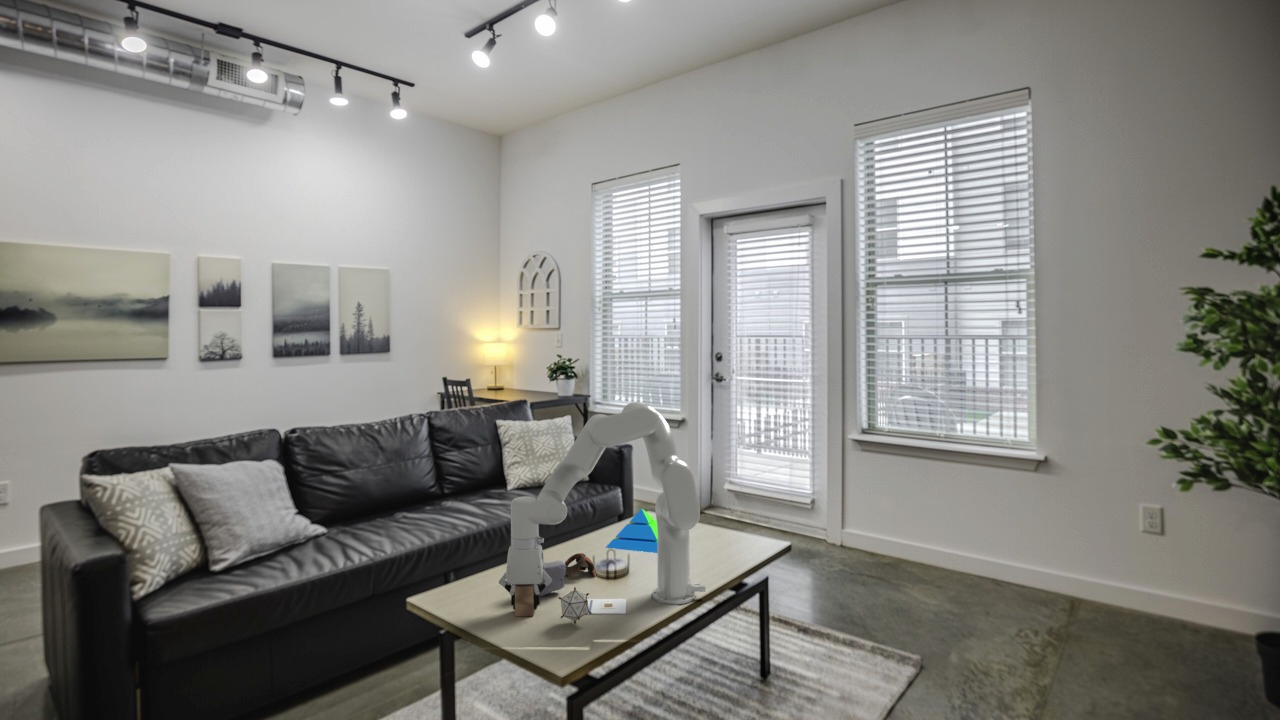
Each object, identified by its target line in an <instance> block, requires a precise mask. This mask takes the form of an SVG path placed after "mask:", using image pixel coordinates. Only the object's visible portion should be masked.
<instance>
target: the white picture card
mask: <svg viewBox="0 0 1280 720" xmlns="http://www.w3.org/2000/svg"><path fill="white" fill-rule="evenodd" d="M587 600H588V608H589V612H591V613H592V614H590V613H587V614H586V615H626V614H627V613H626V612H627V598H587Z"/></svg>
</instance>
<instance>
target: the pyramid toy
mask: <svg viewBox="0 0 1280 720" xmlns="http://www.w3.org/2000/svg"><path fill="white" fill-rule="evenodd" d="M618 532H619V533H617V534H616V535H615V536H614V538H613V539H612V540H611V541H609V543H608V544H607V545H606V546H605V547H604V548H605V549H612V548H615V549H614V550H624V551H633V552H641V551H643V552H642V553H651V552H652V553H654V554H658V548H657V544H658V534H657V521H656V519H655V518H654V517H653V516H652V515H651V514H650V513H648V512H647V511H646V510H645V509H643V508H641V509H639V511H638V512H637V513H636V514H635V515H633V516H632V518H631V519H630V520H629V522H628V523H627V524H626V525H625V526H624V527H623V528H622V529H621V530H620V531H618Z"/></svg>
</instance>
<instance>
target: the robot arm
mask: <svg viewBox="0 0 1280 720" xmlns="http://www.w3.org/2000/svg"><path fill="white" fill-rule="evenodd" d="M641 438H642V440H643V441H644V445H645V447H646V452H647V456H648V457H647V458H648V461H649V466H650V471H651V472H650V473H651V477H652V480H653V481H654V483H655V484H656V485H657V486H659V487H660V488H662V492H661V493H660V494H659V495H658V497H656V498H657V499H656V502H655V507H654V508H655V509H654V510H655V520H656V521H657V534H658V544H657V548H658V553H657V587H656V588H654V589H653V590H652V598H653V600H655V601H656V602H659V603H661V604H667V605H684V604H687V603H690V602H692V601H693V600H694V599H695V597H696V592H698V593H706V584H701V583H700V582H694V583H693V582H692V581H691V578H690V569H691V568H690V544H691V543H690V542H691V541H690V540H691V539H690V537H691V536H690V530H692V529H693V528H694V527H696V525H697V524H698V523H699V520H700V517H701V507H700V501H699V495H698V491H697V486H696V483H695V477H694V473H693V471H692V469H691V467H690V466H689V465H688V464H687V463H686V461H683V460H681V459H680V458H679V455H678V451H677V447H676V443H675V440H674V439H675V438H674V436H673V432H672V429H671V427H670V425H669V424H668V422H667V420H666V419H665V417H664V416H663V415H662V414H661V413H660V412H658V411H657V410H656V409H655V408H654V407H652V406H651V405H649V404H644V403H642V402H638V401H637V402H635V401H634V402H630V403H627V404H626V405H624V407H623V408H622V411H621V412H618V413H615V414H611V415H607V414H603V413H602V414H601V413H598V414H594V415H592V416H591V417H589V419H587V422H586V423H585V425H584V426H583V427H582V429H581V431H580V432H579V434H578V436H577V438H576V439H575V441H574V443H573V444H572V446H571V448H570V449H569V451H568V452H567V453H566V455H565V457H564V458H563V459H562V460H561V462H560V463H559V464H558V465H557V467H556V468H555V469H554V470H553V472H552V473H551V475H550V476H549V477H548V479H547V480H546V482H545V484H544V485H543V487H542V488H541V490H540V492H539V494H538V496H537V498H536V497H534V496H525V495H524V496H518V497H515V498H513V499H512V500H511V503H510V546H509V547H508V552H507V557H506V558H507V560H506V571H505V573H504V574H503V575H502V576H501V578H500V579H499V581H498V584H499V585H501V586H502V587H503V588H504V589H505V590H506V591H507V592H508V593H509V595H510V597H511V598H510V601H511V603H510V605H511V606H512V609H513V611H515V586H516V585H534V590H535V594H534V609H536V610H537V608H538V607H539V606H540V605H541V596H540V593H541V592H542V590H543V589H544V588H545V587H546V586H548V585H549V584H550V583H551V582H552V579H551V577H550V576H549V575H548V574H547V573H546V571H545V570H544V563H545V560H544V559H545V558H544V551H543V546H542V545H541V544H544V541H545V538H544V537H541V536H540V534H539V533H540V532H539V525H548V526H549V525H550V526H552V525H558V524H560V523H562V522H563V521H565V519H566V518H567V516H568V507H567V504H566V503H565V500H566V498H567V496H568V495H569V494H570V492H571V490H572V488H573V487H574V486H575V485H576V484H577V483H578V482H579V481H580V480H582V479H584V478H586V477H587V476H589V475H590V474H591V473H592V472H593V470H594V468H595V467H596V465H597V463H598V462H599V460H600V458H601V456H602V455H603V453H604V452H605V450H606V448H612V447H614V446H616V447H617V446H619V445H622V444H626V443H629V442H631V441H636V440H638V439H641ZM543 578H544V579H545V582H543V583H542V584H541V585H540V583H541V582H542V580H543Z"/></svg>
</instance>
